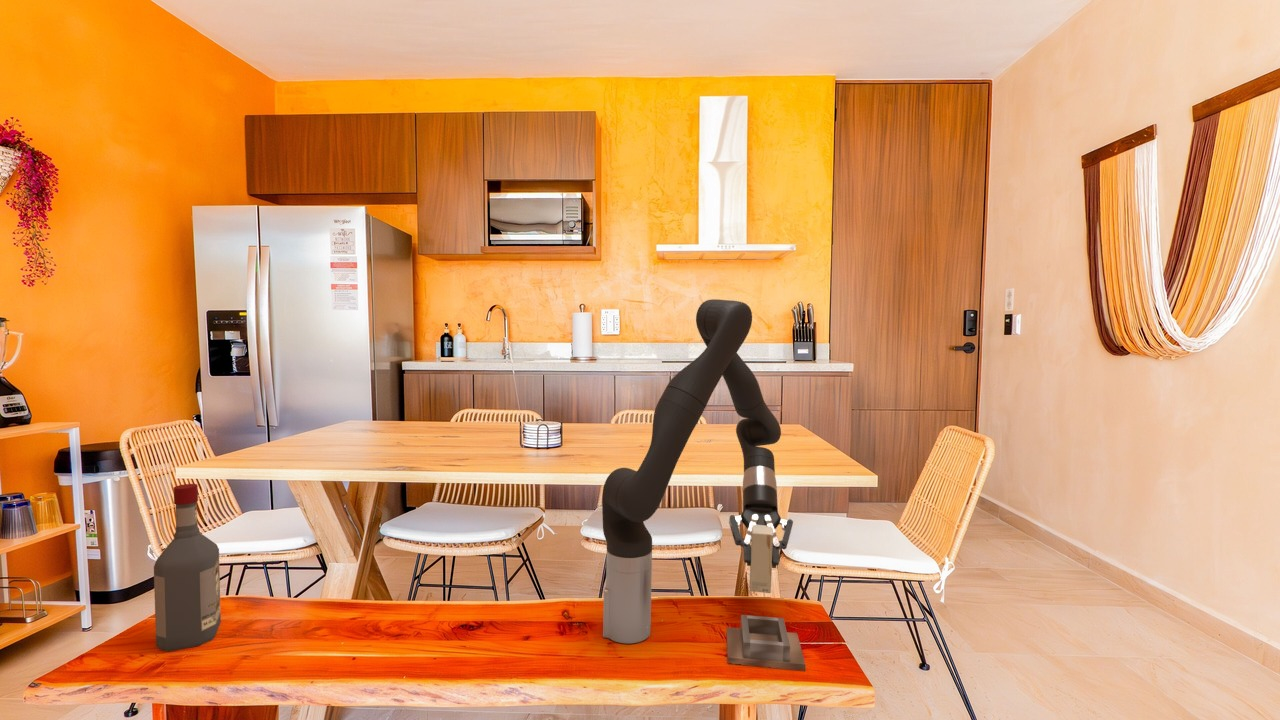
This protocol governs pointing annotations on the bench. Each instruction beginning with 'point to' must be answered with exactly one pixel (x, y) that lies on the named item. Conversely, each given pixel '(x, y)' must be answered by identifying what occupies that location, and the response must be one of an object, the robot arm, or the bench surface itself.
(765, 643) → the serum holder
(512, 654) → the bench surface
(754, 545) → the skincare box
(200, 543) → the liquor
